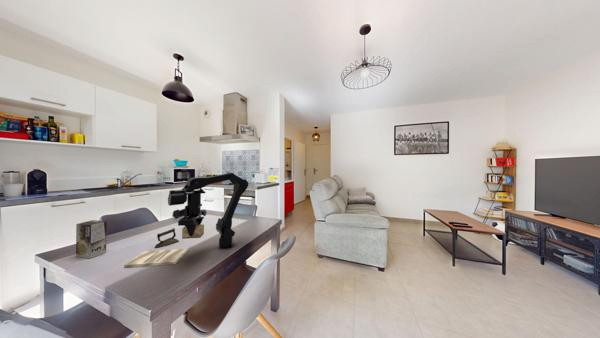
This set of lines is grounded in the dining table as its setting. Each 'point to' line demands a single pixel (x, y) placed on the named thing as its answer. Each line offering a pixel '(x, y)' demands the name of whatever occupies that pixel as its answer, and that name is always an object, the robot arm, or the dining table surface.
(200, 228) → the block
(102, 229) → the coffee box
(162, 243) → the clothes iron
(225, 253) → the dining table surface
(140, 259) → the birch board
